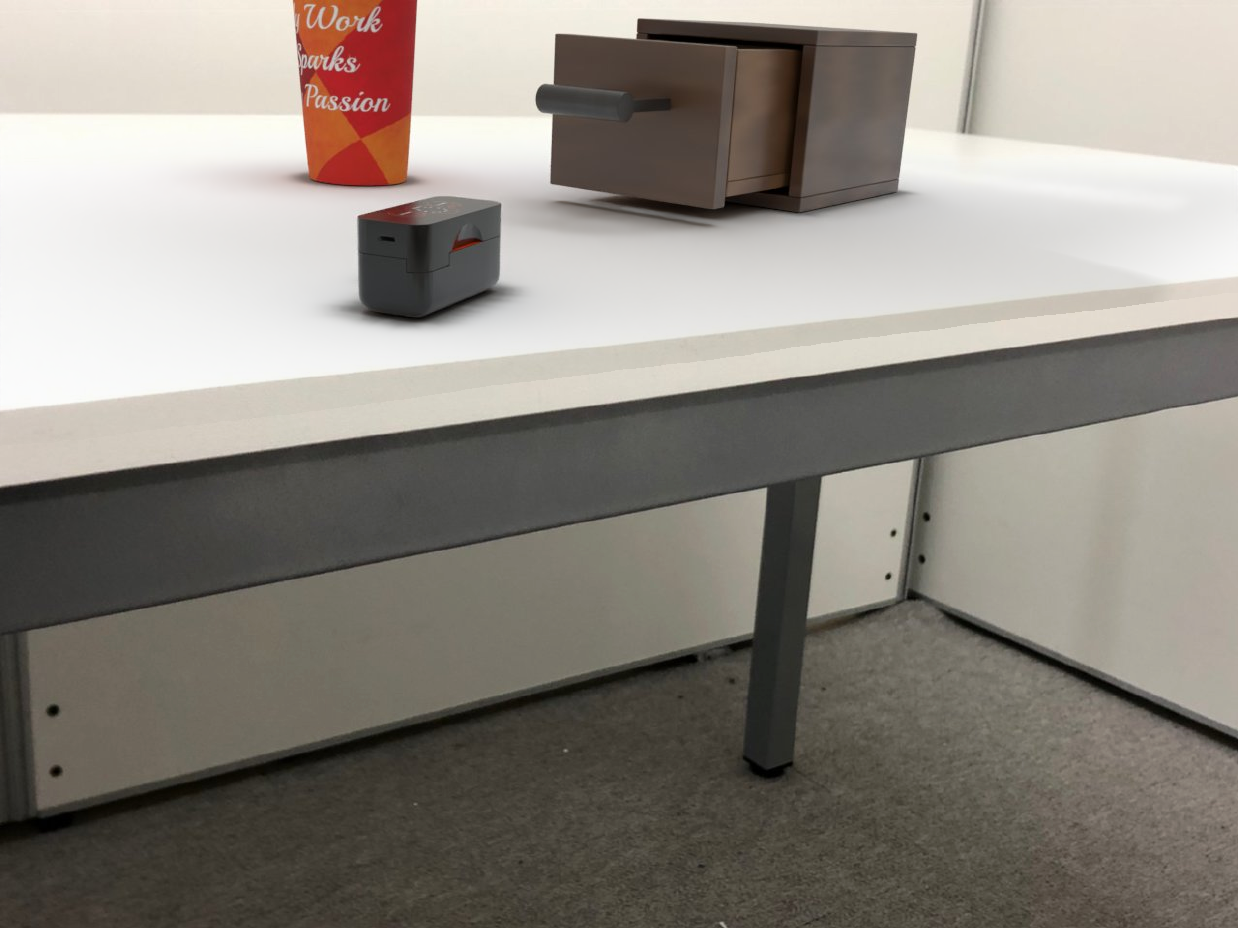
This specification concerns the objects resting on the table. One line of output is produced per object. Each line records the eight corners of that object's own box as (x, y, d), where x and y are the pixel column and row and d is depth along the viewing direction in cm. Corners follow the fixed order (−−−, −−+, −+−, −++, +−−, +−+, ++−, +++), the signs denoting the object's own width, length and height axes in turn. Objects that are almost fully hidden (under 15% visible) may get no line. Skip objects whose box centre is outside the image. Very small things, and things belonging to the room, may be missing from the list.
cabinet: (799, 212, 70) (817, 30, 67) (627, 187, 76) (636, 18, 73) (897, 191, 81) (918, 33, 77) (740, 170, 87) (752, 22, 83)
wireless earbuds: (514, 285, 49) (516, 200, 48) (423, 323, 42) (423, 226, 41) (407, 270, 50) (407, 187, 49) (304, 305, 44) (301, 211, 43)
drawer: (659, 219, 60) (670, 46, 57) (490, 192, 65) (493, 32, 62) (824, 189, 73) (839, 47, 71) (673, 168, 79) (682, 36, 76)
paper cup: (261, 176, 72) (249, -91, 67) (354, 166, 78) (350, -80, 73) (364, 193, 68) (360, -89, 64) (454, 181, 75) (456, -77, 70)
